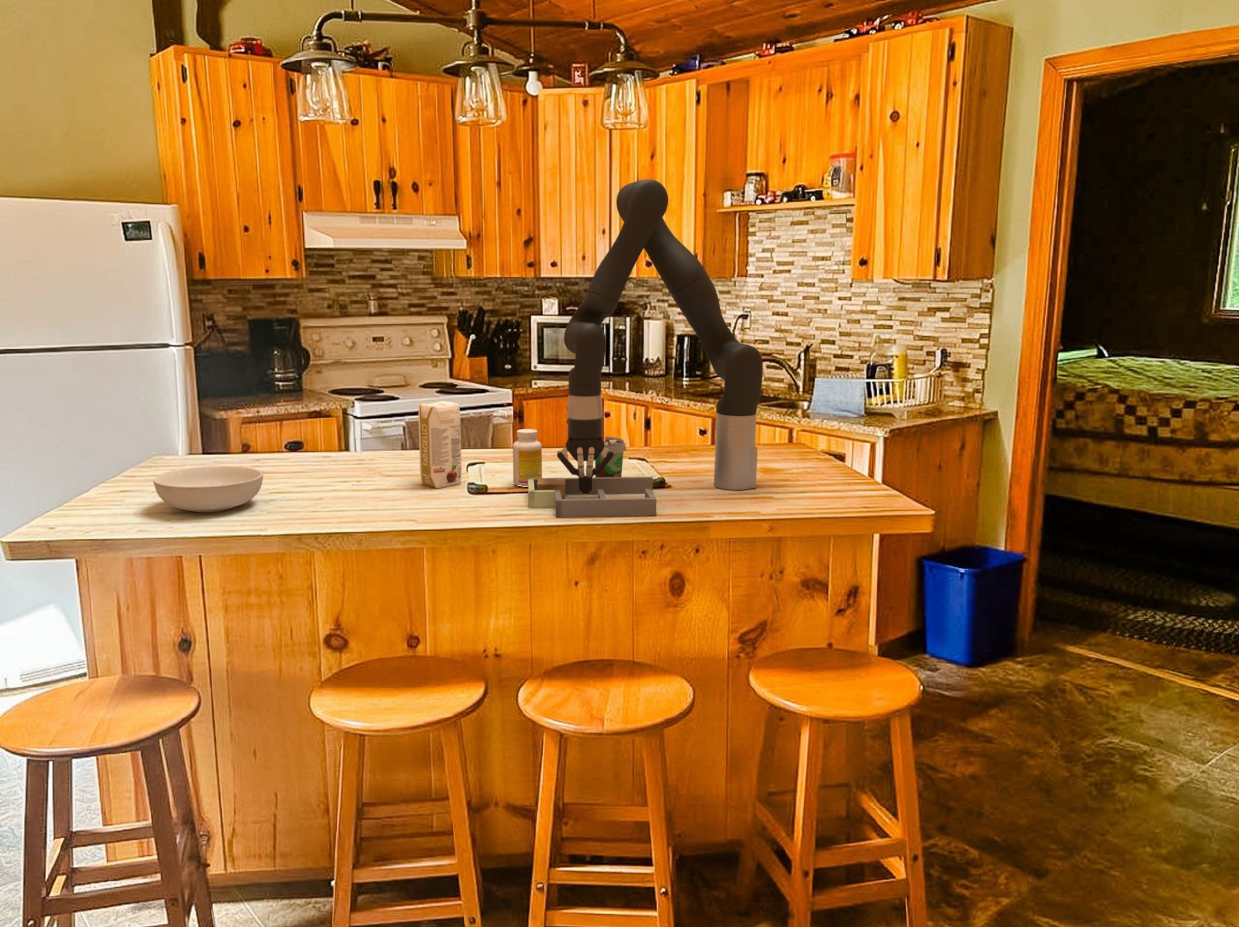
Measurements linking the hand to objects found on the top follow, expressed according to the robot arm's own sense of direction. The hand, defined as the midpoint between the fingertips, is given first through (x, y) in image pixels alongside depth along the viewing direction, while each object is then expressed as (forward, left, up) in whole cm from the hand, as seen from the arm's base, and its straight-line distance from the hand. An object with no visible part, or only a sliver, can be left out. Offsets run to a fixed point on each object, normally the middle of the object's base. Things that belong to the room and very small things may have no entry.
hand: (585, 493), depth 209 cm
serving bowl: (+78, +2, -2) cm, 79 cm away
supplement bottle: (+12, -14, -2) cm, 19 cm away
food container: (-8, -15, -2) cm, 17 cm away
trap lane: (-2, +4, -1) cm, 5 cm away
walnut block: (+7, -1, -2) cm, 8 cm away
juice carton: (+32, -16, -2) cm, 36 cm away
